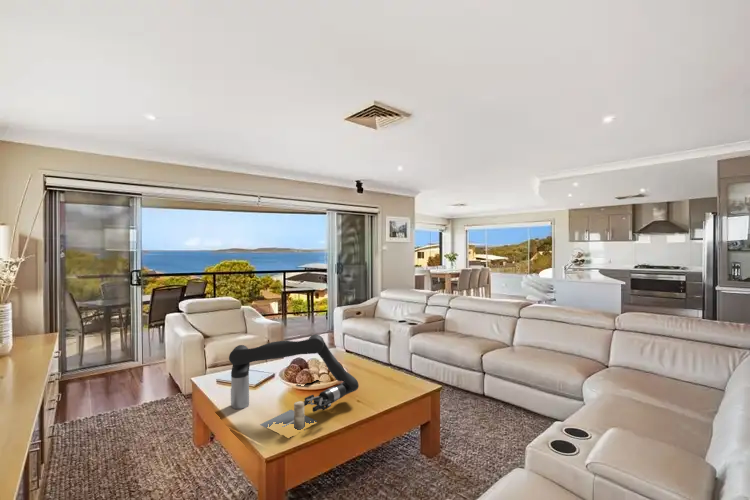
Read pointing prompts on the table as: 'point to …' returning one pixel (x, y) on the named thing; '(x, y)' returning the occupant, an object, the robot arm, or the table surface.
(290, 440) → the table surface
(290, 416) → the mat
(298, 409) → the birch cylinder
